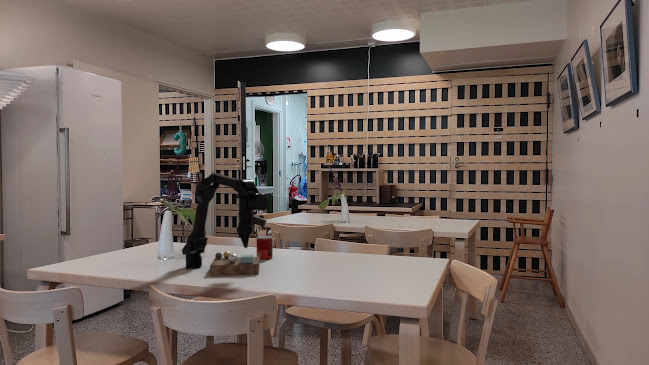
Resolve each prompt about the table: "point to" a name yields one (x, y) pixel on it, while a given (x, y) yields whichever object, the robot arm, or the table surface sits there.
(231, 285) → the table surface
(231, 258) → the steel ball
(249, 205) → the robot arm
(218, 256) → the black rubber ball
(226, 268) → the board
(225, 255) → the brass ball
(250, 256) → the teal block
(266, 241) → the canned food
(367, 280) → the table surface
